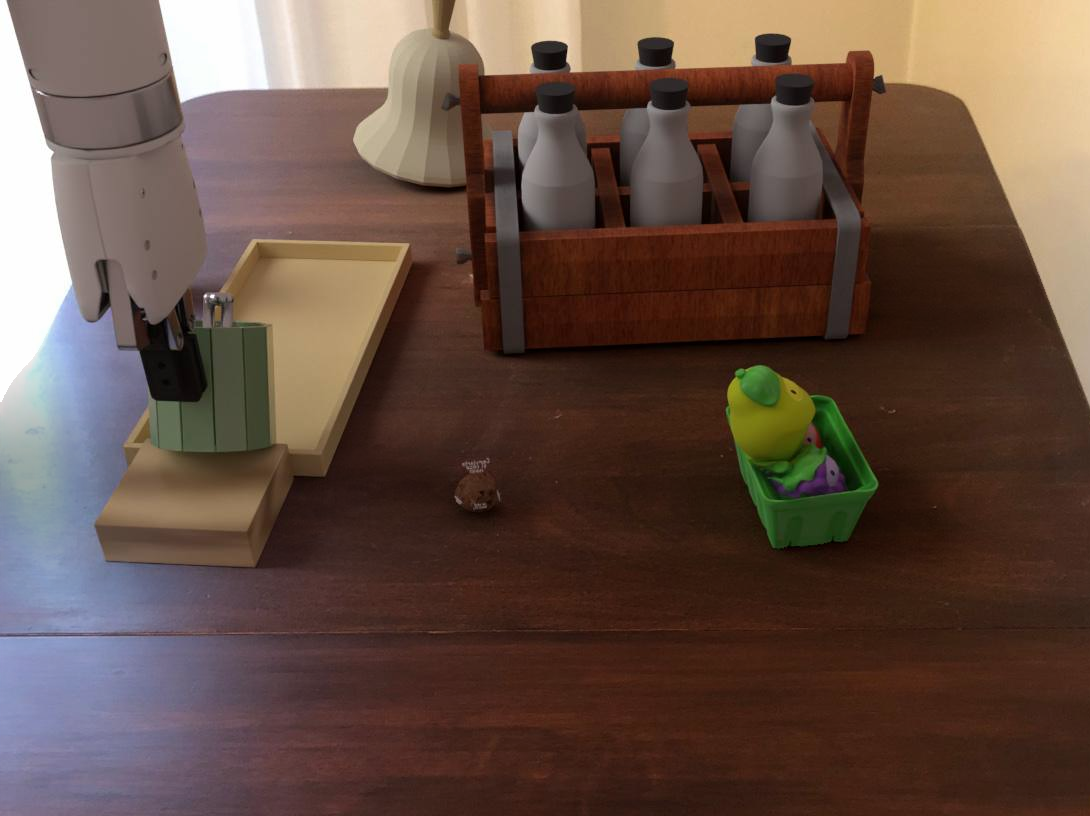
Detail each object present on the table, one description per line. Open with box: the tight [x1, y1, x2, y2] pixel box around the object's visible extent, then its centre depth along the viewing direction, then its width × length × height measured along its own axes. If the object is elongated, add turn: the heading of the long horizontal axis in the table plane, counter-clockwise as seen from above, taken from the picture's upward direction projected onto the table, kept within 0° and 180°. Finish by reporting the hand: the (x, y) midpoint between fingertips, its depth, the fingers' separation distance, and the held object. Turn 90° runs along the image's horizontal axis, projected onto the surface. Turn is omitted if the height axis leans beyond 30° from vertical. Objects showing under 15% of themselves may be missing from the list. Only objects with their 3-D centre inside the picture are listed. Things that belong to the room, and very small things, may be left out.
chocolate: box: [453, 457, 501, 514], centre depth 91 cm, size 3×2×4 cm
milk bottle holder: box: [441, 32, 887, 355], centre depth 110 cm, size 21×35×19 cm, turn 94°
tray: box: [122, 238, 413, 478], centre depth 108 cm, size 33×14×2 cm, turn 175°
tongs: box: [202, 291, 234, 327], centre depth 92 cm, size 1×2×10 cm
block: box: [93, 438, 295, 568], centre depth 91 cm, size 10×10×3 cm
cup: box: [146, 319, 276, 452], centre depth 91 cm, size 8×8×8 cm
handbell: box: [352, 0, 494, 188], centre depth 129 cm, size 15×15×25 cm
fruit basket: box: [725, 364, 879, 550], centre depth 89 cm, size 11×9×11 cm
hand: (180, 394), depth 86 cm, fingers closed
